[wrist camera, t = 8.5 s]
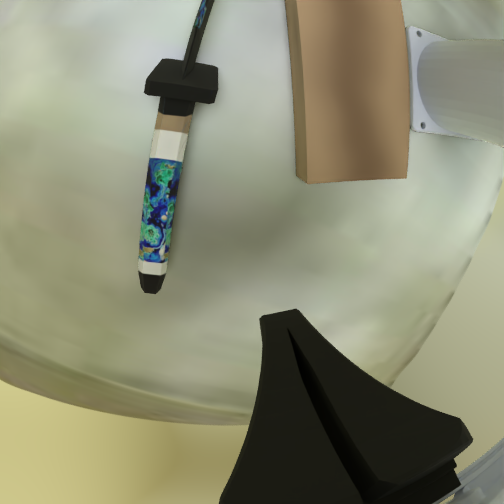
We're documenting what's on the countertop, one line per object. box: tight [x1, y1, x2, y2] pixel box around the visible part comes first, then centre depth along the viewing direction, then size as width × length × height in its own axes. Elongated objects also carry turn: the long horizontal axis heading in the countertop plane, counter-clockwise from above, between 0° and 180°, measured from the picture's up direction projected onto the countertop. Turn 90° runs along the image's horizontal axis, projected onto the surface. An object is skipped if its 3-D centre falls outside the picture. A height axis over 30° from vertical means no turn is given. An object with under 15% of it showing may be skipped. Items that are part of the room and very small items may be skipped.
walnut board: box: [285, 0, 410, 184], centre depth 12 cm, size 7×20×2 cm, turn 4°
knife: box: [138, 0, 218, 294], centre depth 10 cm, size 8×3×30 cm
